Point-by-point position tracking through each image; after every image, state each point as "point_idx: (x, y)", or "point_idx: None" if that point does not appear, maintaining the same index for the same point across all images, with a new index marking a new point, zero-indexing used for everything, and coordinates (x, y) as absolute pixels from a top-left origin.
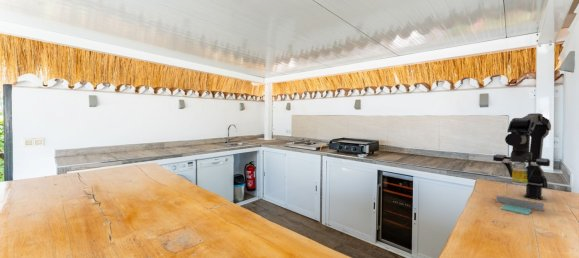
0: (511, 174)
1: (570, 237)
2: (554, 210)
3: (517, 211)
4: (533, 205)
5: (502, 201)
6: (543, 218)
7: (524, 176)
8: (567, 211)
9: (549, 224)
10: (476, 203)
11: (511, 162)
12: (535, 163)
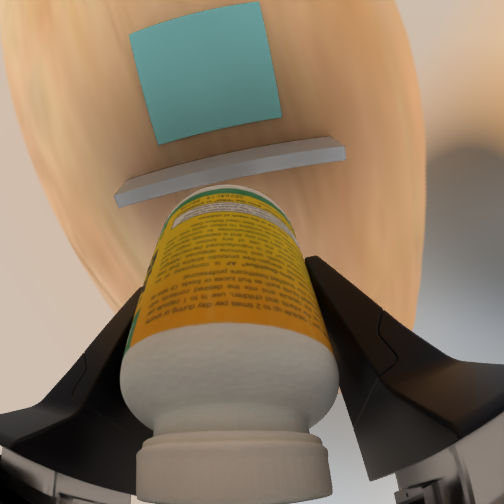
0: (316, 277)
1: None
2: (117, 237)
3: (180, 25)
4: (157, 177)
5: (303, 141)
6: (81, 60)
7: (146, 279)
8: (97, 266)
9: (50, 13)
10: (380, 14)
11: (370, 474)
12: (28, 488)
